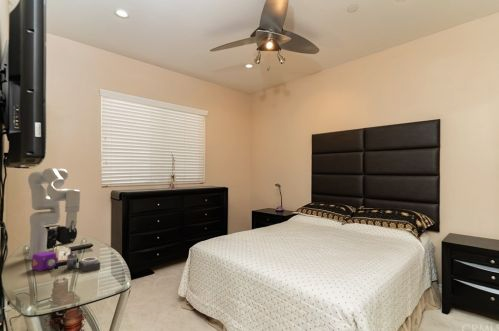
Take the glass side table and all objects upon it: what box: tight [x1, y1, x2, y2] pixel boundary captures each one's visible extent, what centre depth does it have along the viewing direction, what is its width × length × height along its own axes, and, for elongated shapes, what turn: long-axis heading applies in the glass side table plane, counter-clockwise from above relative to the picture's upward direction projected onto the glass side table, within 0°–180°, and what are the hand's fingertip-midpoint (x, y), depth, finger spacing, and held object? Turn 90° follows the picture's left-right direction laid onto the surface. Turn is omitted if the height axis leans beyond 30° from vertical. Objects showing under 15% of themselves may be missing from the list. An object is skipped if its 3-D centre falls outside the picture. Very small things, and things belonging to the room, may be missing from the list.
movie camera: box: [44, 224, 78, 249], centre depth 215 cm, size 31×18×18 cm, turn 157°
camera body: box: [78, 256, 101, 273], centre depth 168 cm, size 12×9×6 cm
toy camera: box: [31, 250, 58, 272], centre depth 165 cm, size 11×14×10 cm
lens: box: [66, 253, 78, 270], centre depth 168 cm, size 5×5×8 cm
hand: (70, 236), depth 166 cm, fingers open, 9 cm apart
